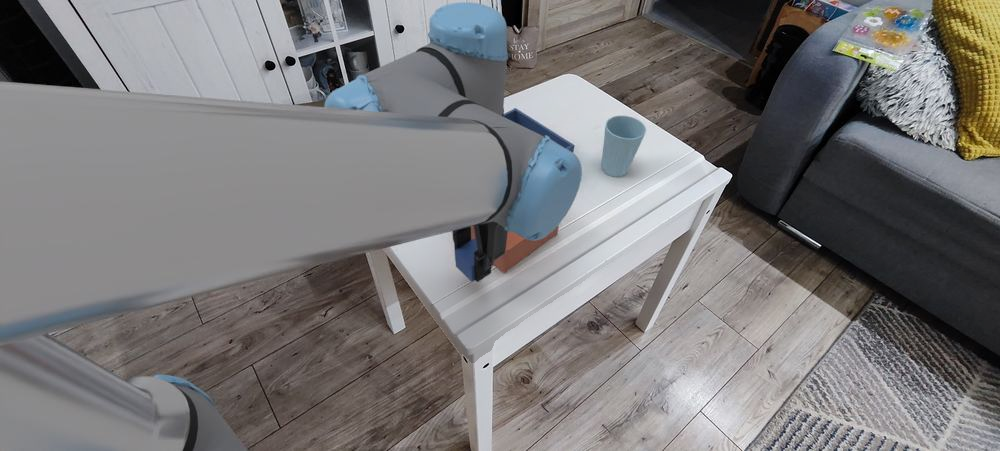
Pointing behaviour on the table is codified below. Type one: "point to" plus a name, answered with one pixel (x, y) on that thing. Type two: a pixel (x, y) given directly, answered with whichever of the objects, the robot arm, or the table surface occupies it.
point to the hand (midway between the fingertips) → (472, 266)
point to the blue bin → (537, 128)
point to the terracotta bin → (517, 248)
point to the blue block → (466, 259)
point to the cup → (621, 144)
